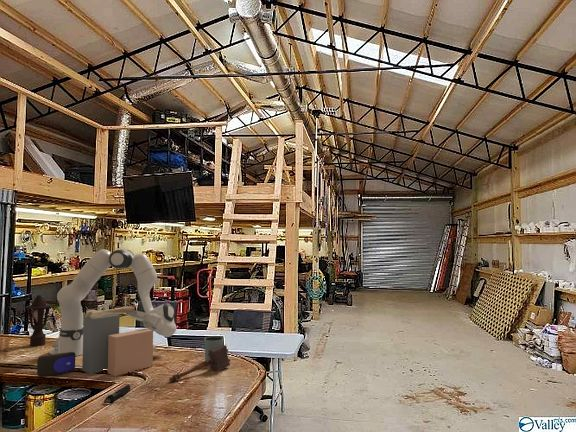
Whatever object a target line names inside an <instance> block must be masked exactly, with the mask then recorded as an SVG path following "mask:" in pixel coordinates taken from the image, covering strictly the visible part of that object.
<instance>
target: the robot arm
mask: <svg viewBox="0 0 576 432" xmlns="http://www.w3.org/2000/svg"><path fill="white" fill-rule="evenodd" d="M153 265H154V264H153V263H152V261H151V259H150V258H149V257H148V256H147V255H146V254H145V253H137V254H134V253H133V251H131V250H129V249H125V248H122V249H121V248H120V249H115V250H113V251H110V250H108V249H103V248H102V249H100V250H98V251H97V252H96V253H94V254H93V255H92V256H91V257H90V258H89V259H88V260H87V262H86V263H85V264H84V265H83V266H82V267H81V268H80V270H79V271H78V272H77V274H76V276H75V278H74V279H73V280H72V281H71V282H70V284H67V285H64V286H63V287H62V288H60V290H58V292H57V294H56V299H57V301H58V304H59V305H58V306H59V310H60V316H61V317H60V318H61V321H60V324H61V325H60V329H59V335H58V337H57V338H56V339H55V341H54V342H53V343H52V344H51V347H52V348H53V349H50V350H48V353H49V355H52V354H59V353H67V352H74V353H75V357H77V356H81V355H82V356H83V317H84V312H83V309H82V304H81V301H83V300H84V299H85V298H86V296H88V294H89V293H90V292H91V290H92V289H93V287H94V285H96V283H97V282H98V280H100V278H102V277H103V275H104V273H106V271H108V269H109V268H111V267H112V268H114V269H119V270H120V269H126V268H130V269H131V270H132V272H133V273H134V276H135V278H136V281H137V288H136V292H137V296H138V299H139V302H140V305H141V308H142V311H140V310H134V312H131V313H127V314H128V317H130V318H132V319H134V320H136V321H137V322H138V321H139V322H142V324H143V327H144V329H149V330H153V332H155V333H156V334H158V335H159V336H163V337H165V338H170V337H172V336H173V335H174V334H175V333H176V331H177V325H176V323H175V308H174V306H173V305H172V304H170V303H169V302H165V303H162V304H160V305H159V306H156V307H154V306H153V304H152V301H151V300H152V299H151V297H150V292H151V289H153V287H154V286H155V284H156V282H157V280H158V273H157V271H156V269H155V267H154V266H153Z"/></svg>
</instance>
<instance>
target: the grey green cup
mask: <svg viewBox="0 0 576 432" xmlns="http://www.w3.org/2000/svg"><path fill="white" fill-rule="evenodd" d="M203 343H204V357H205V358H204V361H205V362H204V363H206V362H208V361H209V360H210V356H209V355H208V353H209V351H208V350H209V349H211V348H213V347H215V346H217V345H220V344H222V345H224V337H223V336H220V335H219V336H218V335H212V336H205V337H204V342H203Z"/></svg>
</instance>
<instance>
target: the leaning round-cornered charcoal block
mask: <svg viewBox="0 0 576 432" xmlns="http://www.w3.org/2000/svg"><path fill="white" fill-rule="evenodd" d="M36 361H37V365H36V375H37V376H38V377H41V378H42V377H54V376H60V375H66V374H68V373H72V372H74V371H75V369H76V356H75V353H74V352H67V353H59V354H52V355H51V354H45V355H40V356H38V357H37V360H36Z"/></svg>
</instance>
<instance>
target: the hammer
mask: <svg viewBox="0 0 576 432" xmlns="http://www.w3.org/2000/svg"><path fill="white" fill-rule="evenodd" d="M208 351H209V353H208V355H209V356H210V360H209V361H208V362H204V363H202V364H199V365H197V366H195V367H193V368H191V369H188V370H186V371H183V372H182V373H176V374H173V375H172V377H170V378H168V382H169V383H171V382H177V381H178V380H179V379H181V378H183V377H185V376H187V375H190V374H192V373H194V372H196V371H199V370H201V369H202V368H205V367H206V366H209V367H210V369H211V370H214V371H217V372H220V371H222V370H223V369H225V368H227V367H229V366H230V365H231V364H230V362H231V359H230V358H229V357H228V356H229V355H228V353H229V349H228V347H227V345H225V344H223V345H222V344H220V345H217V346H215V347H213V348H211V349H209V350H208Z"/></svg>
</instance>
